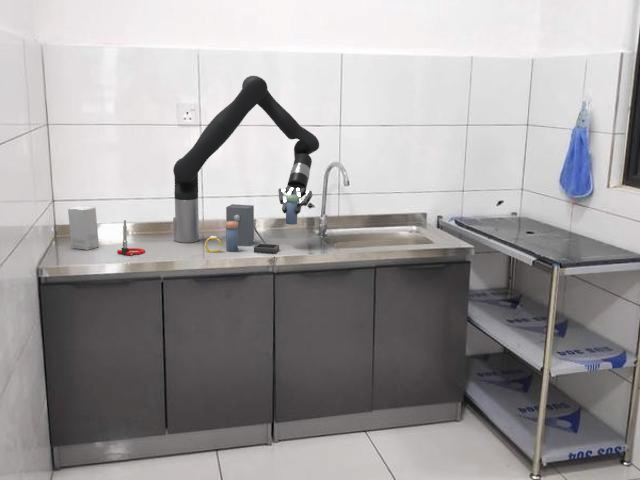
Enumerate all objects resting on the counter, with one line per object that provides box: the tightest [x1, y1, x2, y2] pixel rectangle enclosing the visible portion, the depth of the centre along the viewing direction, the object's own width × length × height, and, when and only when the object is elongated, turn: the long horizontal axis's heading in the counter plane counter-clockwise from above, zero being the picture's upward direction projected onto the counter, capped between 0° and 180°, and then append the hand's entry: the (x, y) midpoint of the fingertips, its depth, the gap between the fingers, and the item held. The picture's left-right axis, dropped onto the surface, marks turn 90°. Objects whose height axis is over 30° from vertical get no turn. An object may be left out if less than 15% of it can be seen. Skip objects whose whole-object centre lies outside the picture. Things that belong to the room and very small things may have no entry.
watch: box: [204, 235, 222, 253], centre depth 249 cm, size 6×3×6 cm, turn 92°
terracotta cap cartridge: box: [224, 221, 239, 253], centre depth 251 cm, size 5×5×11 cm
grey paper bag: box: [67, 205, 100, 251], centre depth 251 cm, size 8×7×16 cm
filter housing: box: [225, 203, 255, 247], centre depth 263 cm, size 9×8×15 cm
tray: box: [253, 243, 280, 255], centre depth 252 cm, size 8×7×2 cm
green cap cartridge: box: [285, 194, 298, 226], centre depth 255 cm, size 5×5×11 cm
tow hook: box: [116, 219, 146, 257], centre depth 245 cm, size 8×13×9 cm
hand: (290, 212), depth 253 cm, fingers closed on green cap cartridge, 4 cm apart
